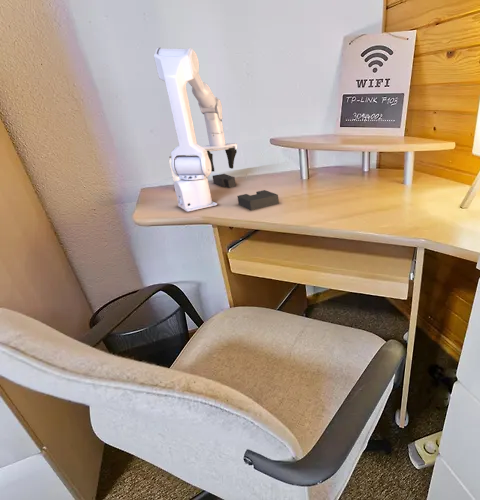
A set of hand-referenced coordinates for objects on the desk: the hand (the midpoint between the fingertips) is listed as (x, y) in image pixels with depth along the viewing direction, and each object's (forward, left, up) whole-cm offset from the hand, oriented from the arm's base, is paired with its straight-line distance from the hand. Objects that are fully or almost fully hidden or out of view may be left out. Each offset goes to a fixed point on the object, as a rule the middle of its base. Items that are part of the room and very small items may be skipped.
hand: (222, 169), depth 124 cm
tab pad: (0, -1, -6) cm, 6 cm away
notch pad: (-4, -33, -6) cm, 34 cm away
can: (-14, +3, -6) cm, 15 cm away
